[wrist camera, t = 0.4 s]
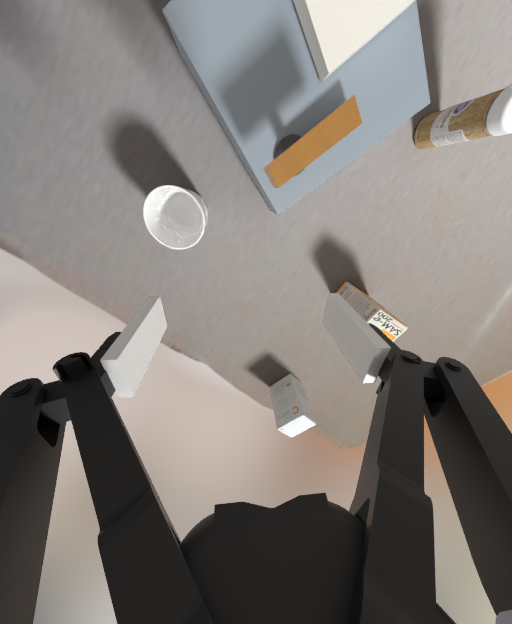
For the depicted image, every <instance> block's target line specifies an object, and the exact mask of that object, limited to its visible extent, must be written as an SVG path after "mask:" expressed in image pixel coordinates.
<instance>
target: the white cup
mask: <svg viewBox="0 0 512 624" xmlns="http://www.w3.org/2000/svg"><path fill="white" fill-rule="evenodd" d="M143 216H144V221H145V224H146V226H147V228H148V230H149V232H150V233H151V234H152V236H153V237H154V238H155V239H156V240H157V241H159V242H160V243H161V244H163V245H165V246H167V247H169V248H173V249H186V248H189V247H191V246H193V245H195V244H196V243H197V242H198V241H199V240H200V238H201V237H202V235H203V232H204V230H205V227H206V224H207V218H208V211H207V205H206V204H205V202H204V201H203V199H202V197H201V196H199V195H198V194H196V193H195V192H194V191H191V190H189V189H186V188H183V187H178V186H174V185H163V186H159V187H157V188H155V189H154V190H152V191H151V192H150V193H149V194H148V196H147V197H146V199H145V202H144V206H143Z"/></svg>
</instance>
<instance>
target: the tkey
mask: <svg viewBox="0 0 512 624" xmlns="http://www.w3.org/2000/svg"><path fill="white" fill-rule="evenodd" d="M361 124H362V120H361V116H360V112H359V109H358V105H357V102H356V98H355V95H353V96H352V97H350V98H349V99H348V100H347V101H346V102H344V103H343V104H342V105H340V106H339V107H338V108H337V109H335V110H334V111H333V112H332V113H330V114H329V115H328V116H327V117H326V118H324V119H323V120H322V121H321V122H319V123H318V124H317V125H316V126H314V127H313V128H312V129H311V130H310V131H308V132H307V133H306V134H305V135H303V136H302V137H301V138H300V139H299V140H297V141H296V142H295V143H294V144H292V145H291V146H290V147H289V148H288V149H286V150H285V151H284V152H283V153H281V154H280V155H279V156H278V157H277V158H275V159H274V160H273V161H272V162H270V163H269V164H268V165H267V166H266V167H264V168H263V169H264V171H265V173H266V175H267V177H268V178H269V180H270V182H271V184H272V186H273V188H279V187H281V186H282V185H283V184H285V183H286V182H287V181H288V180H290V179H291V178H292V177H294V176H295V175H296V174H298V173H299V172H300V171H301V170H303V169H304V168H305V167H307V166H308V165H309V164H310V163H312V162H313V161H314V160H316V159H317V158H318V157H319V156H321V155H322V154H323V153H325V152H326V151H327V150H328V149H330V148H331V147H332V146H334V145H335V144H336V143H338V142H339V141H340V140H341V139H343V138H344V137H345V136H347V135H348V134H349V133H350V132H352V131H353V130H354V129H356V128H357V127H358V126H359V125H361Z"/></svg>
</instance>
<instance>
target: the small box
mask: <svg viewBox="0 0 512 624" xmlns="http://www.w3.org/2000/svg"><path fill="white" fill-rule="evenodd" d="M270 392H271V398H272V403H273V409H274V414H275V420H276V425H277V429H278V430H279V431H281V432H283V433H284V434H286V435H288V436H290V437H294V436H295V435H297V434H299V433H301V432H303V431H305V430H307V429H308V428H310V427H312V426H314V425H316V422H315V419H314V416H313V413H312V410H311V408H310V405H309V402H308V399H307V396H306V394H305V391H304V388H303V385H302V383H301V382H300V381H299V380H297V379H296V378H295V377H294V376H293V375H291V374H288V375H287V376H285V377H284V378H282V379H281V380H279V381H278V382H276V383H275V384H273V385H272V386H270Z"/></svg>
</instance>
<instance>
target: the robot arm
mask: <svg viewBox="0 0 512 624" xmlns="http://www.w3.org/2000/svg"><path fill="white" fill-rule="evenodd" d="M322 322H323V323H324V325H325V327H326V328H327V330H328V331H329V333H330V334H331V336H332V337H333V339H334V340H335V342H336V343H337V345H338V346H339V348H340V349H341V351H342V353H343V354H344V356H345V357H346V359H347V360H348V362H349V363H350V365H351V366H352V368H353V369H354V371H355V372H356V374H357V375H358V377H359V379H360V380H361V382H362V383H374V382H375V380H376V378H377V376H379V377H380V378H381V380H382V381H381V383H380V385H379V387H378V389H377V391H376V393H377V394H378V395H377V400H376V404H375V409H374V413H373V418H372V422H371V426H370V431H369V435H368V440H367V444H366V449H365V453H364V458H363V462H362V467H361V471H360V475H359V480H358V485H357V489H356V493H355V496H354V499H353V502H352V504H351V507H350V510H349V511H347V510H346V509H344V508H343V507H341V506H339V505H337V504H334V503H332V502H329V501H328V500H327V497H326V493H319V494H310V495H300V496H297V497H296V498H293V499H291V500H289V501H287V502H285V503H283V504H281V505H279V506H277V507H275V508H267V507H263V506H258V505H255V504H250V503H246V502H236V503H227V504H217V505H215V511H214V513H213V514H211V515H209V516H208V517H206V518H205V519H203V520H202V521H200V522H199V523H198V524H197V525H196V526H195V527H194V528H193V529H192V530H191V531H190V532H189V533H188V534H187V536H186V537H185V538H184V539H183V541H182V542H181V541H180V539H179V537H178V535H177V533H176V531H175V529H174V527H173V525H172V523H171V521H170V519H169V517H168V515H167V513H166V511H165V509H164V507H163V504H162V502H161V500H160V498H159V496H158V494H157V492H156V490H155V488H154V486H153V484H152V481H151V479H150V477H149V475H148V473H147V471H146V469H145V467H144V465H143V463H142V460H141V458H140V456H139V454H138V452H137V450H136V448H135V446H134V444H133V442H132V440H131V437H130V435H129V433H128V431H127V429H126V427H125V425H124V423H123V421H122V419H121V417H120V414H119V413H118V411H117V408H116V406H115V404H114V402H113V400H112V398H111V397H112V395H113V394H114V392H115V391H116V393H117V395H118V397H119V398H123V397H134V395H135V393H136V390H137V389H138V386H139V384H140V382H141V380H142V378H143V376H144V374H145V372H146V370H147V368H148V366H149V363H150V361H151V359H152V357H153V355H154V353H155V351H156V349H157V346H158V345H159V343H160V340H161V338H162V336H163V334H164V332H165V330H166V328H167V323H166V319H165V315H164V311H163V307H162V303H161V299H160V296H149V297H148V299H147V300H146V301H145V303H144V304H143V305H142V307H141V308H140V309H139V310H138V312H137V313H136V314H135V316H134V317H133V318H132V319H131V321H130V322H129V323H128V325H127V326H126V328H125V329H124V330H123V331H122V332H115V333H114V334H112V335H111V336H109V337H108V338H107V339H106V340H105V342H104V343H103V344H102V345H101V346H100V348H99V349H98V350H97V351H96V352H95V353H94V355H93V356H92V357H91V358H90V356H89V355H88V354H87V353H83V352H80V353H74V354H70V355H68V356H66V357H63V358H62V359H60V360H59V361H57V362H56V364H55V365H54V366H53V371H54V372H55V374H56V375H57V377H58V378H59V380H58V381H55V382H51V383H47V384H43V383H42V382H41V380H39V379H37V378H31V379H26V380H23V381H20V382H18V383H16V384H14V385H12V386H10V387H9V388H7V389H6V390H5V391H4V392H3V393H2V394H1V395H0V624H33V618H34V613H35V607H36V601H37V595H38V589H39V583H40V577H41V571H42V565H43V559H44V553H45V547H46V540H47V535H48V528H49V523H50V516H51V511H52V504H53V499H54V492H55V486H56V480H57V474H58V468H59V462H60V456H61V450H62V444H63V438H64V432H65V426H66V422H67V421H70V420H71V421H72V424H73V428H74V432H75V436H76V440H77V443H78V447H79V451H80V455H81V458H82V462H83V466H84V470H85V473H86V477H87V481H88V485H89V488H90V492H91V496H92V500H93V504H94V507H95V511H96V515H97V519H98V522H99V526H100V533H99V535H98V546H99V551H100V555H101V559H102V563H103V567H104V572H105V576H106V579H107V583H108V588H109V591H110V596H111V599H112V604H113V608H114V612H115V616H116V620H117V623H118V624H456V623H455V622H454V621H453V620H452V619H451V618H450V617H449V616H448V615H447V613H446V612H445V611H444V610H443V609H442V608H441V607H440V606H439V605H438V604H437V603H436V589H435V556H434V523H433V505H432V501H431V499H430V497H428V496H427V495H425V493H424V415H425V418H426V421H427V423H428V427H429V430H430V433H431V436H432V439H433V442H434V444H435V447H436V451H437V453H438V457H439V459H440V462H441V466H442V469H443V471H444V474H445V477H446V480H447V484H448V486H449V489H450V492H451V496H452V498H453V502H454V505H455V508H456V510H457V513H458V516H459V519H460V522H461V525H462V528H463V531H464V534H465V537H466V540H467V543H468V546H469V549H470V552H471V555H472V558H473V561H474V564H475V566H476V569H477V572H478V575H479V577H480V580H481V582H482V585H483V587H484V589H485V592H486V594H487V596H488V598H489V600H490V603H491V605H492V607H493V609H494V612H495V613H496V615H497V617H496V624H512V434H511V432H510V431H509V429H508V428H507V426H506V424H505V423H504V421H503V420H502V418H501V417H500V416H499V414H498V413H497V411H496V409H495V408H494V407H493V405H492V403H491V402H490V401H489V399H488V398H487V396H486V395H485V393H484V392H483V390H482V388H481V387H480V385H479V384H478V382H477V381H476V379H475V378H474V376H473V375H472V373H471V372H470V370H469V369H468V368H467V367H466V366H465V365H463V364H462V363H461V362H459V361H457V360H455V359H451V358H447V357H441V358H439V359H438V360H437V362H436V363H431V362H425V361H423V360H422V359H421V358H420V357H419V356H417V355H416V354H414V353H412V352H409V351H405V350H401V349H400V348H399V347H398V346H397V345H396V344H395V343H394V342H392V341H391V340H390V339H389V338H388V337H387V336H386V335H385V334H384V333H383V332H382V331H381V330H380V329H379V328H378V327H376V326H375V325H373V324H371V323H367V322H366V321H365V320H364V319H363V318H362V317H361V316H360V315H359V314H358V313H357V312H356V311H355V310H354V309H353V308H352V307H351V306H350V305H349V304H348V303H347V302H346V301H345V300H344V299H343V298H342V297H341V296H340V295H339V294H338V293H329V295H328V299H327V304H326V308H325V312H324V317H323V321H322Z"/></svg>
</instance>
